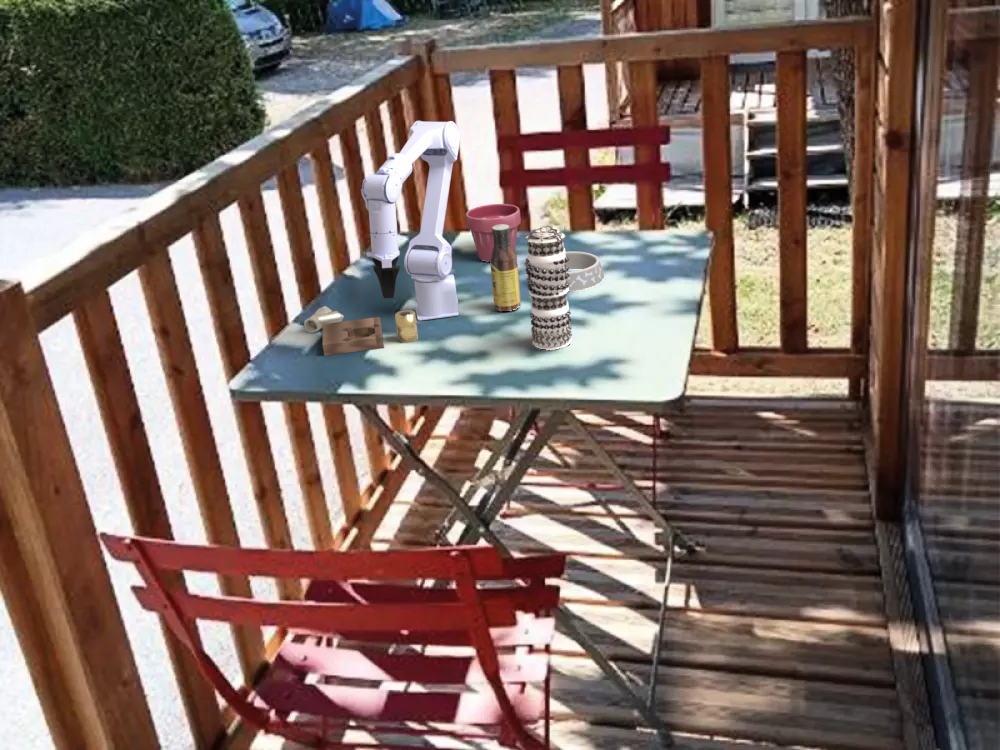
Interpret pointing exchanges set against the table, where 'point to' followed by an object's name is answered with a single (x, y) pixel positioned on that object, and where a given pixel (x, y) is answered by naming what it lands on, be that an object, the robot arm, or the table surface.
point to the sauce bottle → (504, 270)
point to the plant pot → (491, 225)
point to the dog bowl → (583, 270)
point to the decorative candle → (548, 288)
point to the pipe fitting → (322, 319)
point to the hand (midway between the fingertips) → (388, 293)
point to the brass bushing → (406, 326)
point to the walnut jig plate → (352, 336)
